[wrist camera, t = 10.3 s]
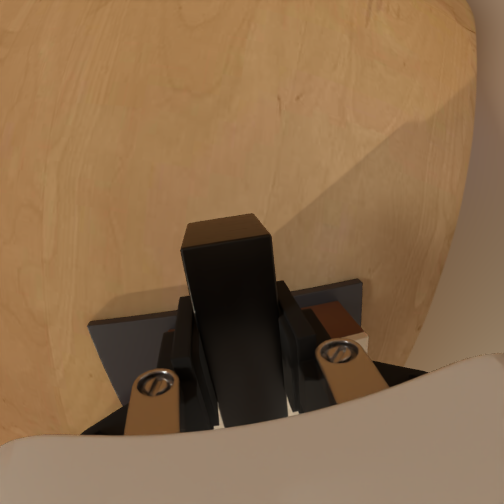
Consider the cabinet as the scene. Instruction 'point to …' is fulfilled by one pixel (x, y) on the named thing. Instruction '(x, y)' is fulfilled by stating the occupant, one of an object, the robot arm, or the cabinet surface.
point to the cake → (154, 325)
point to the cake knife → (237, 315)
